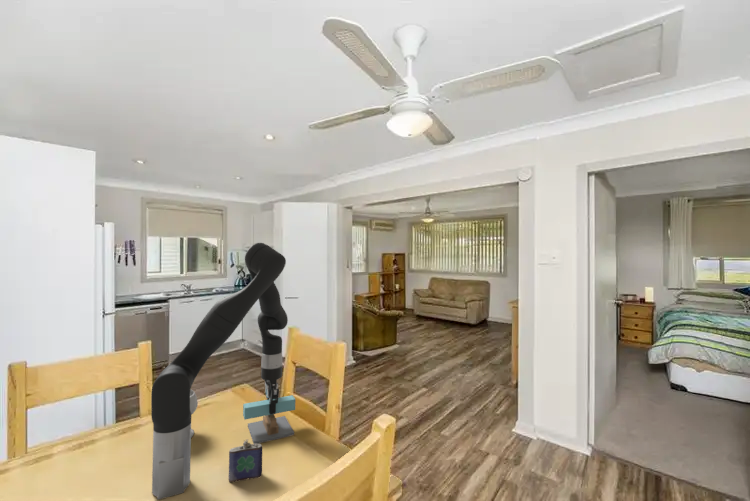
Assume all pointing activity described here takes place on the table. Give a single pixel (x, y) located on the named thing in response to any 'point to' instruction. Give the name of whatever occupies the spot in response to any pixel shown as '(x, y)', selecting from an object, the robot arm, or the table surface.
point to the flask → (245, 462)
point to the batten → (263, 407)
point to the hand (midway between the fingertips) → (271, 410)
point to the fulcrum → (270, 429)
